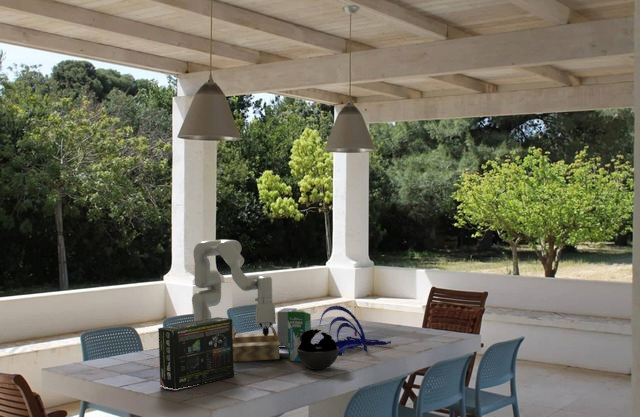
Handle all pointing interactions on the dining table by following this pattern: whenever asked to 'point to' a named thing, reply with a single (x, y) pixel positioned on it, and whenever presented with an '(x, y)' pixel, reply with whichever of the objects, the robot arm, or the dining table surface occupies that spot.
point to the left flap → (233, 332)
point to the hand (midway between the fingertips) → (265, 335)
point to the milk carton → (297, 331)
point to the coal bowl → (317, 350)
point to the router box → (196, 352)
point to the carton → (255, 347)
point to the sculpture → (356, 342)
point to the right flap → (274, 332)
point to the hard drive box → (283, 325)
